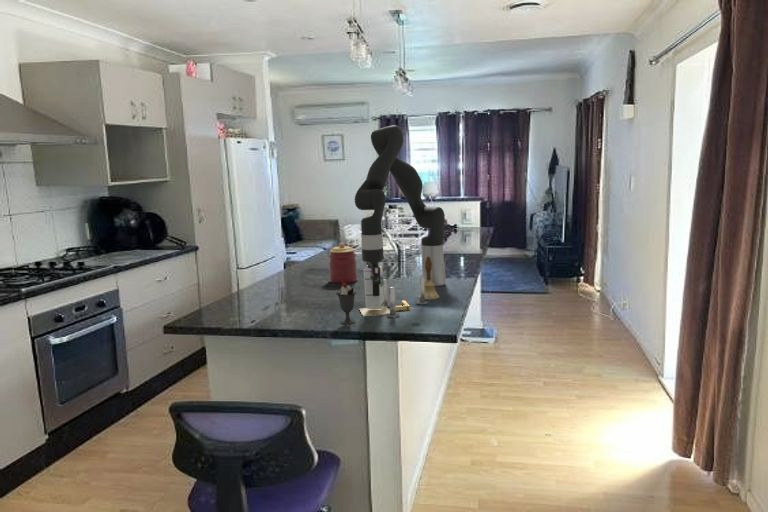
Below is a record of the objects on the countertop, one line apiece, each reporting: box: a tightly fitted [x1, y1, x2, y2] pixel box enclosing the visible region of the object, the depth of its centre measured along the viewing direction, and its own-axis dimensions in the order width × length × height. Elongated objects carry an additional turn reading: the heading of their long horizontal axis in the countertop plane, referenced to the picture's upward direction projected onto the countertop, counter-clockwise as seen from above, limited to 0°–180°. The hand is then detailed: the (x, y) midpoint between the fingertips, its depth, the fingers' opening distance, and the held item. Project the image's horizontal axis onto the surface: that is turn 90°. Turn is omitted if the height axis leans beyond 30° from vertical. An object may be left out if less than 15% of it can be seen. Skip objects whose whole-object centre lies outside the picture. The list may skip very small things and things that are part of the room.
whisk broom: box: [417, 257, 440, 301], centre depth 220 cm, size 8×8×16 cm
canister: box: [327, 242, 359, 284], centre depth 257 cm, size 13×13×18 cm
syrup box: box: [363, 264, 385, 309], centre depth 200 cm, size 6×6×14 cm
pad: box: [358, 306, 390, 317], centre depth 201 cm, size 10×10×1 cm
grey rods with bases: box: [383, 276, 429, 318], centre depth 203 cm, size 18×18×10 cm
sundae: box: [335, 278, 357, 325], centre depth 188 cm, size 7×7×15 cm
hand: (374, 293), depth 200 cm, fingers closed on syrup box, 7 cm apart
